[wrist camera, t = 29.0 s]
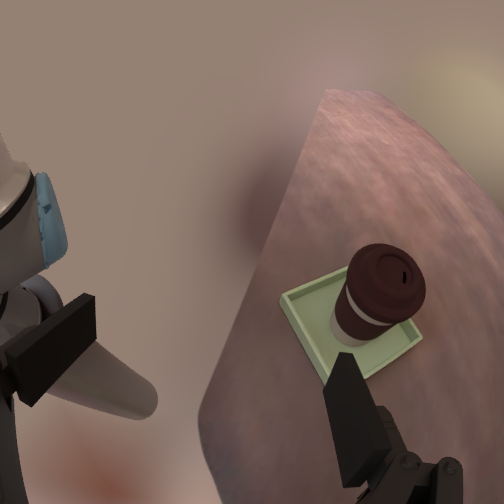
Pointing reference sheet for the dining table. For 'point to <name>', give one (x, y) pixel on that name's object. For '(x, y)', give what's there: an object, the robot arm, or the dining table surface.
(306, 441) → the dining table surface
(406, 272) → the coffee cup
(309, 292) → the tray
